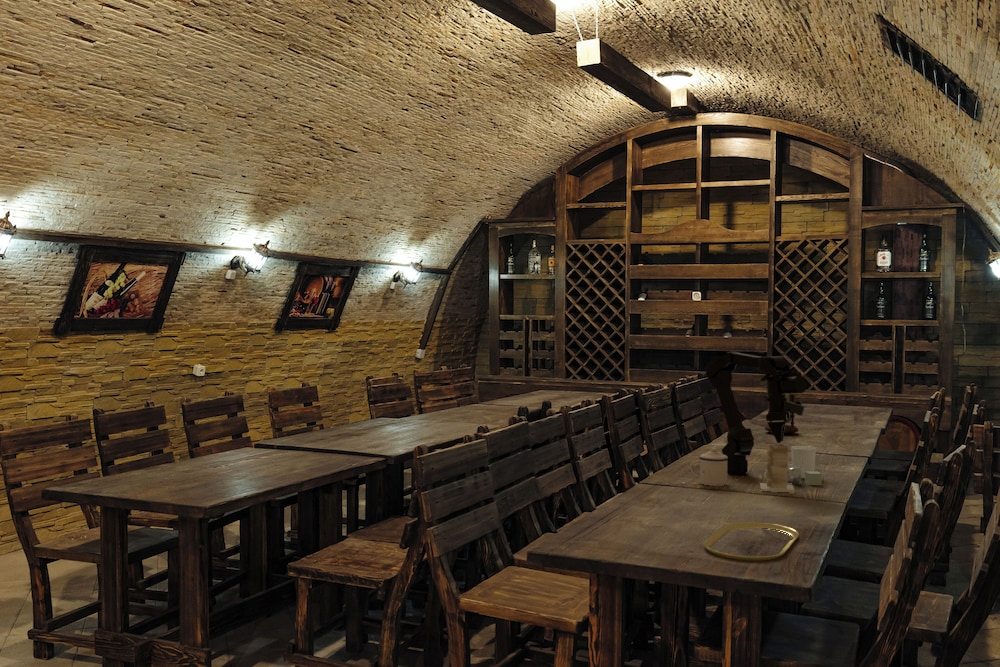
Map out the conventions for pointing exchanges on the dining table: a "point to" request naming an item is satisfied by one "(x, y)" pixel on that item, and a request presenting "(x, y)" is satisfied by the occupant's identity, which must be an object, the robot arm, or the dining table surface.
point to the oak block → (777, 466)
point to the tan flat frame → (739, 525)
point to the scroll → (787, 427)
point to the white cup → (803, 458)
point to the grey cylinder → (793, 475)
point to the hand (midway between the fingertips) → (780, 442)
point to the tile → (768, 488)
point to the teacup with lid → (712, 468)
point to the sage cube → (813, 477)
